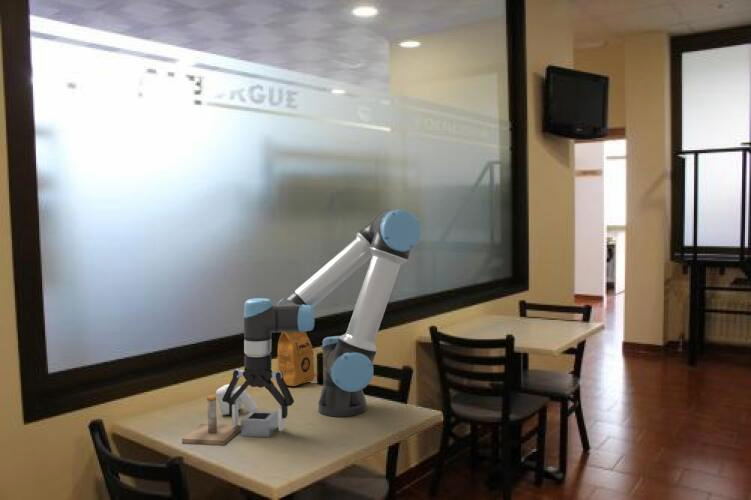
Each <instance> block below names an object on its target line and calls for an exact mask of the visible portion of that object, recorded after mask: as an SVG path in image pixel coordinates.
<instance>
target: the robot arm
mask: <svg viewBox="0 0 751 500" xmlns="http://www.w3.org/2000/svg"><path fill="white" fill-rule="evenodd" d="M421 235H422V228H421V224H420V222H419V219H418V218H417V217H416V216H415V215H414V214H413V213H412V212H410V211H407V210H405V209H400V208H396V209H386V210H382V211H381V212H378V214H376V215H375V216H374V217H373V218H371V220H369V221H368V223H366V225H364V226H363V227H362V228H361V229H360V230H359V231H358V232H357V233H356V237H355V239H353V241H351V242H350V243H348V245H347V246H345V247H344V248H343V249H341V250H340V252H338V253H337V254H336V255H335V256H333V258H332V259H330V260H329V261H328V262H327V263H326V264H324V266H322V267H321V268H320V269H319V270H317V271H316V272H315V273H314V274H313V275H311V276H310V277H309V278H308V279H307V280H305V281H304V282H303V283H302V284H301V285H299V287H297V288H296V289H295V290H294V291H293V292H291V294H288V296H286V297H284V298H282V299H280V300H279V302H277V305H273V303H272V301H271V299H269V298H263V297H262V298H261V297H255V298H249V299H247V300H246V301H245V302H244V309H243V311H244V312H243V327H244V328H243V332H244V333H243V337H244V339H243V340H244V341H243V346H244V347H243V352H244V354H245V355H244V357H243V359H244V360H243V362H244V364H243V366H244V369H243V370H241V368H236V369H235V370H234V371H233V373H232V379H231V381H230V383H228V384H229V386H228V388H227V391H226V393H225V395H224V397H223V399H222V401H223V402H227V403H229V414H228V415H230V416H231V418H232V419H231V425H232V427H233V428H235V427H236V426H237V425H240V424H239V410H238V402H235V401H236V399H237V398H238V397H239V396H240V395H241V394H242V393H243V391H244V390H246V389H247V388H248V387H249V386H250V387H251V388H259V389H261V388H263V387H264V388H265V390H266V391H267V390H268V392H269V393H270V394H271V395H272V397H273V398H274V400H276V402H277V403H278V404H279V405H280V406H279V407H278V431H279V432H282V431H283V430H284V429H285V419H287V417H288V411H289V410H288V407H290V406H292V405H293V404H294V402H295V399H294V398H293V395H292V393H291V391H290V389H289V387H288V385H286V383H285V381H284V379H283V372H282V371H279V372H278V371H275V372H273V371H272V370H273V369H272V354H271V353H272V333H282V332H304V331H306V332H311V331H313V330H314V327H315V310H314V307H315V306H317V305H318V304H319V303H320V302H321V301H323V299H325V298H326V297H327V296H329V294H330V293H332V292H333V291H334V290H335V289H336V288H338V286H340V285H341V284H342V283H343V282H344V281H345V280H347V279H348V278H349V277H351V276H352V274H354V273H355V272H356V271H357V270H358V269H359V268H360V267H362V266H363V265H364V264H366V262H367V261H369V260H370V259H371V260H370V263H369V265H368V267H367V272H366V274H365V277H364V280H363V283H362V286H361V288H360V291H359V294H358V297H357V301H356V303H355V306H354V309H353V312H352V314H351V315H352V316H351V318H350V321H349V323H348V327H347V330H346V332H345V333H344V334H342V335H334V336H326V337H325V338H323V340H322V346H321V349H322V382H323V384H322V389H321V392H320V396H319V399H318V403H317V406H318V407H317V409H318V412H319V413H320V414H322V415H324V416H329V417H338V418H340V417H341V418H344V417H352V416H356V415H360V414H362V413H364V412H365V411H366V410H367V404H368V403H367V399H366V396H365V393H364V390H363V389H366V387H367V386H368V385H369V384H370V383H371V381H372V379H373V376H374V365H373V363H374V359H375V357H376V353H377V352H378V349H377V346H376V345H375V341H376V338H377V335H378V332H379V329H380V326H381V323H382V320H383V318H384V314H385V311H386V309H387V305H388V304H389V303H388V302H389V299H390V296H391V294H392V291H393V288H394V285H395V282H396V279H397V276H398V274H399V271H400V267H401V266H402V265H403V264H404V263H406V262H408V260H409V257H410V254H411V252H412V249H413V248H414V247H416V246H417V245H418V243H419V241H420V239H421ZM242 376H243V378H244V379H245V381H244V382H243V384H242V385H240V386H241V387H240V388H239V390H238V391H237V392H236V393H235V394H234V395H233V396H232V397H230V396H231V394H232V392H233V390H234V388H235V386H236V384H237V385H238V382H239V380H240V378H241V377H242ZM272 378H273V379H274V380H275V381H276V383H277V385H278V388H279V389H280V390H279V389H278V388H277V386H275V384H274V382H273V381H272Z"/></svg>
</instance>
